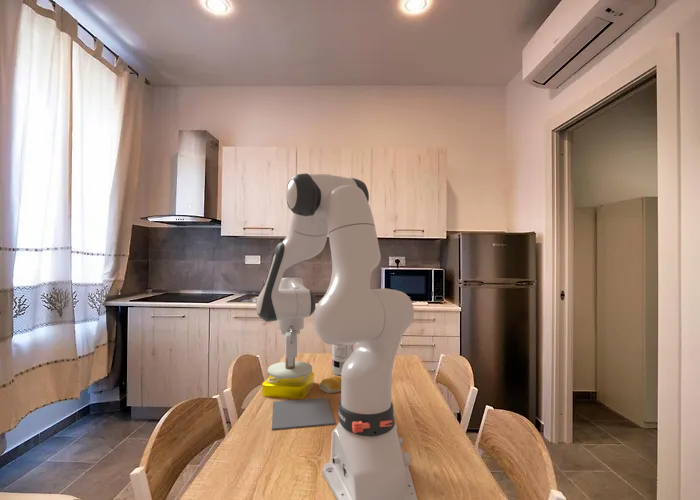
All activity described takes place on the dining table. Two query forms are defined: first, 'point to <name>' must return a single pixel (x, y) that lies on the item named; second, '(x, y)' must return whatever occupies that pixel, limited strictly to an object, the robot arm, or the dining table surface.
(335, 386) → the bread roll
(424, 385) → the dining table surface
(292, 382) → the element tile
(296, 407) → the mat
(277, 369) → the lid
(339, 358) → the supplement can
